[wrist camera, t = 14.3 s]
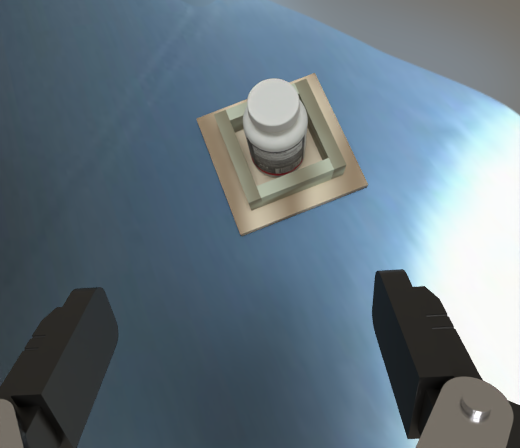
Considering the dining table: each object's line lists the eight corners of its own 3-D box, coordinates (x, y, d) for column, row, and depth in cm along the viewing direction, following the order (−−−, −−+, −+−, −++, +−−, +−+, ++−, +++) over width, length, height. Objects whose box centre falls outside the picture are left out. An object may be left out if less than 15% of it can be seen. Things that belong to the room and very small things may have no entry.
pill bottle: (255, 124, 41) (245, 65, 31) (309, 131, 40) (314, 73, 31) (245, 174, 40) (231, 129, 30) (300, 182, 39) (303, 139, 30)
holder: (241, 236, 39) (236, 228, 36) (198, 122, 42) (190, 105, 39) (366, 187, 39) (373, 174, 36) (314, 77, 42) (316, 56, 39)
